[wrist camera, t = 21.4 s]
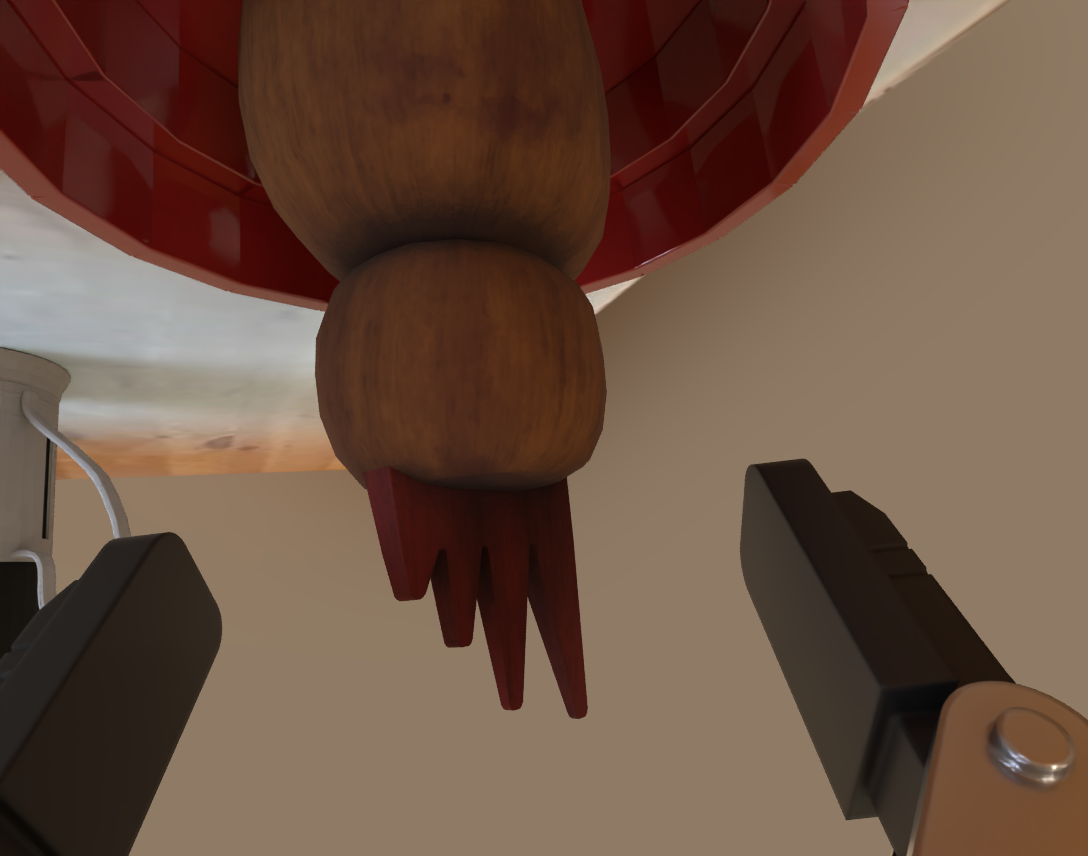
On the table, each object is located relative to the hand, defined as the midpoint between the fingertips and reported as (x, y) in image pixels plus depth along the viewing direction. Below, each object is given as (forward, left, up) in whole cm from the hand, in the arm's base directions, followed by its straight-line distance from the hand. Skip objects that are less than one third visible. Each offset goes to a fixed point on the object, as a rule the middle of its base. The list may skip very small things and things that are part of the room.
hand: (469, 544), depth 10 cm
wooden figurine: (0, -1, -12) cm, 12 cm away
